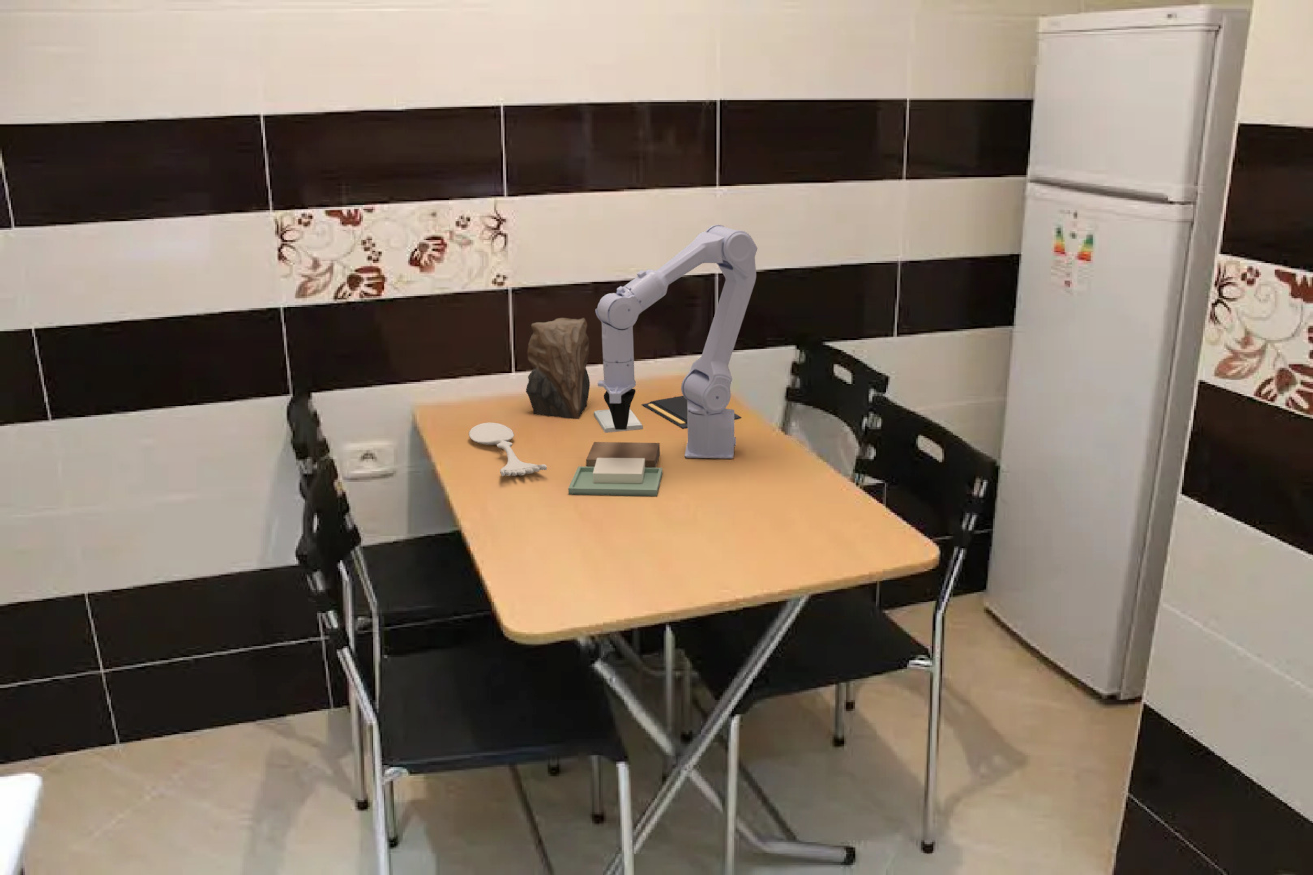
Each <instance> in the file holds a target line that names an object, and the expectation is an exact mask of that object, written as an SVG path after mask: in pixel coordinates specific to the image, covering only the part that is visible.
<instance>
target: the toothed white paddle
mask: <svg viewBox="0 0 1313 875" xmlns="http://www.w3.org/2000/svg"><path fill="white" fill-rule="evenodd" d="M468 436H469V438H470V439H471V440H472V441H473V442H475V443H478V444H480V445H488V446H495V445H496V446H497V448H499V449H503V450H504V451H505V453H506V455H507V463H506V464H505V466H503V467H502V468H501V469H499V472H500V475H501V476H502V477H505V476H508V477H510V476H514V477H516V476H524V475H527V474H533V473H538V472H540V471H547V469H548V467H547V465H546V464H545V463H544V464H543V463H542V464H536V463H530V462H524V461H521V460H520V459H519V458H518V457H517V455H516V454H515V452H514V450H513V449H512V446H513V442H510V441H511V440H513V438H514V437H515V432H514V431H513V430H512V429H511V428H510V427H509V426H508V425H504V424H503V423H497V422H484V423H479V424H476V425H475V426H473V427H472V428H471V429H469V431H468Z"/></svg>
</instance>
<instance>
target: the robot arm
mask: <svg viewBox="0 0 1313 875" xmlns="http://www.w3.org/2000/svg"><path fill="white" fill-rule="evenodd" d="M757 251H758V247H757V245H756V243H755V241H754V239H753V238H752V236H751V235H750V234H749V233H748V232H747V231H745V230H740V229H733V228H730V227H727V226H724V225H721V224H713V225H711V226H710V227H708V228H706V230H705V231H703V232H700V233H698V234H697V235H696V237H695V239H693V240H692V242H690V243H689V244H688V245H687V246H685V247H684V248H683V249H682V250H680V251H679V252H677V253H676V255H674V256H673V257H671V258H670V259H669V260H668V261H667V262H666V263H664V264H662V265H661V267H659V268H658V269H656V270H655V269H650V268H648V269H646V270H643V269H641V270H639V271H638V272H636V275H637V276H636V277H635V278H634V279H631V281H629V282H628V283H627V284H625V285H624V286H621V285H620V286H619V287H617V288H616V292H611V293H607V294H604V296H602V297H601V298H600V300H599V302H598V304H597V308H595V315H596V317H597V319H598V320H599V321H600V322H601V344H602V365H603V366H602V367H603V369H602V370H603V379H602V380H598V381H597V386H598V387H599V388H604V390H605V393H604V394H603V400H604V402H605V403H606V405H607V407H608V409H610V412H611V415H612V420H613V424H614V427H615V429H616V430H626V428H627V424H628V418H629V411H630V409H631V405H632V403H633V400H634V397H635V395H636V389H635V387H636V385H637V384H636V382H637V381H636V380H635V357H634V355H635V353H634V330H633V329H634V327H633V326H634V325H635V324H636V322H637V320H638V318H639V315H640V314H642V312H644V311H645V310H647V309H648V308H649V307H651V306H652V305H654V304H655V303H656V302H658V301H659V300H660V299H662V298H663V297H664V296H666V294H667V292H668V288H669V286H670V285H671V284H672V283H674V282H675V281H677V280H678V279H680V278H681V277H683V276H684V275H686V274H688V273H689V272H691V271H693V270H694V269H696V268H697V267H699V266H700V265H702V264H716V265H718V268H719V269H720V271H721V273H722V274H723V275H722V276H724V278H725V281H724V285H723V287H722V291H721V294H720V297H719V301H718V303H717V305H716V306H717V307H716V310H715V313H714V317H713V319H712V322H711V325H710V328H709V332H708V335H707V339H706V341H705V344H704V347H703V351H702V353H701V357H699V358H698V359H696V360H695V361H694V362H693V363H692V364H691V368H690V370H689V372H688V373H687V374H686V375H685V377H684V378H683V380H682V382H681V387H680V391H681V394H682V396H684V397H685V398H686V399H687V418H688V428H687V443H686V446H685V451H684V458H689V459H733V458H734V455H735V454H734V452H735V447H736V446H737V437H736V436H735V420H734V413H735V409H732V408H731V409H730V408H727V407H728V405H729V403H730V401H731V397H732V394H731V384H732V382H733V376H732V374H731V371H730V368H729V364H730V361H731V358H732V355H733V351H734V349H735V346H736V342H737V338H738V335H739V333H740V330H741V327H742V324H743V321H744V318H745V314H746V311H747V308H748V305H749V302H750V299H751V295H752V293H753V289H754V287H755V284H756V279H757V267H756V254H757Z"/></svg>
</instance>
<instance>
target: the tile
mask: <svg viewBox="0 0 1313 875" xmlns="http://www.w3.org/2000/svg"><path fill="white" fill-rule="evenodd" d="M644 471H645V458H597V460H596V464H595V467H594V471H593V482H594V483H642V482H643V477H644Z"/></svg>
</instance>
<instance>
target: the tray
mask: <svg viewBox="0 0 1313 875" xmlns="http://www.w3.org/2000/svg"><path fill="white" fill-rule="evenodd" d="M663 470H664V469H663V467H656V468H646V467H645V471H644V477H643V482H642V483H594V482H593V471H594V467H586V465H585V466H582V465H581V466H577V468H576V470H575V472H574V475H573V477H572V479H571V480H570V483H569V485H568V488H567V490H568V495H571V496H573V495H574V496H577V495H578V496H579V495H580V496H581V495H582V496H586V495H587V496H627V497H628V496H629V497H631V496H632V497H658V494H659V490H660V486H661V481H662V478H663V474H664V473H663Z"/></svg>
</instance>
